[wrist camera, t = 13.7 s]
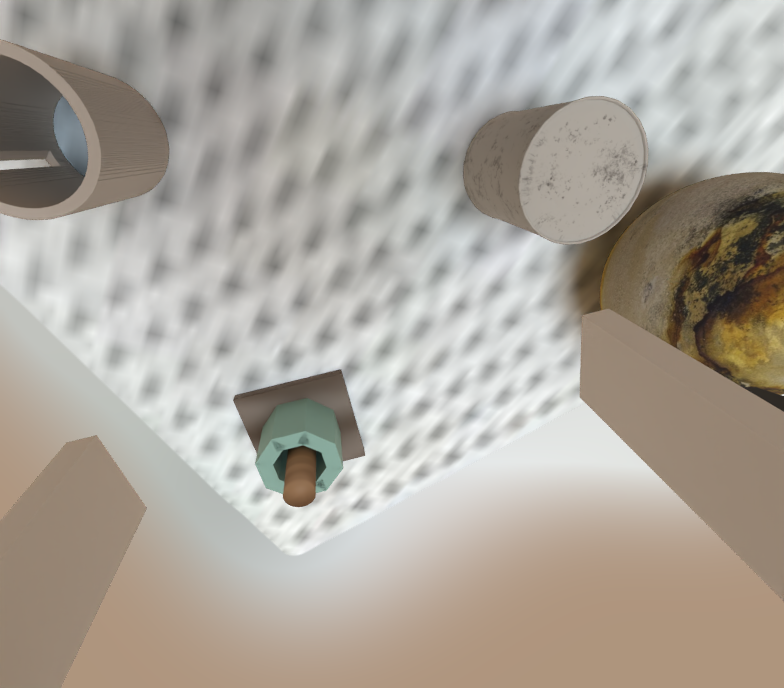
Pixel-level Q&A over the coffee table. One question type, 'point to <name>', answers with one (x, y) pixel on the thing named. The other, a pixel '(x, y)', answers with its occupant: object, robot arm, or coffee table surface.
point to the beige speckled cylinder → (559, 168)
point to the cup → (101, 128)
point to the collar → (300, 442)
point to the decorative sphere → (709, 275)
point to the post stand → (302, 458)
